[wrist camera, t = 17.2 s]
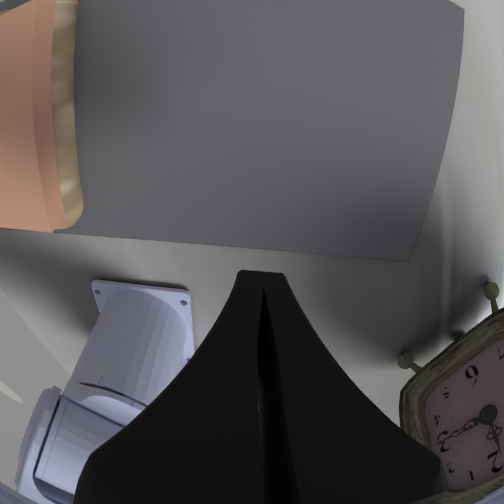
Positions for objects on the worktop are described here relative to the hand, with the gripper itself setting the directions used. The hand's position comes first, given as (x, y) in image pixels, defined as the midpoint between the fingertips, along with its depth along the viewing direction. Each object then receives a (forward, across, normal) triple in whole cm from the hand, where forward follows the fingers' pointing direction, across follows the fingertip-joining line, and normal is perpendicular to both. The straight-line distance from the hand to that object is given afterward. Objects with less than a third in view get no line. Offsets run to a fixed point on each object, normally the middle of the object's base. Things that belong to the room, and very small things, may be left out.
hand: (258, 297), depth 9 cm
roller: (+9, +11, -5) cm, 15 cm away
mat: (+9, +9, -5) cm, 14 cm away
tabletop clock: (+10, -21, +12) cm, 26 cm away
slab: (+6, +18, -5) cm, 20 cm away
